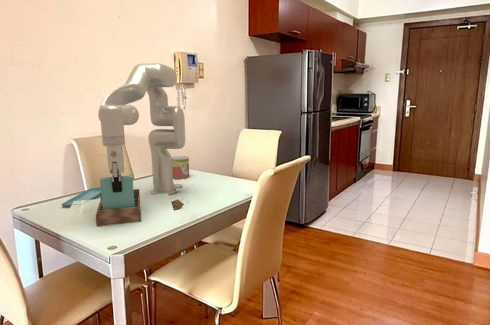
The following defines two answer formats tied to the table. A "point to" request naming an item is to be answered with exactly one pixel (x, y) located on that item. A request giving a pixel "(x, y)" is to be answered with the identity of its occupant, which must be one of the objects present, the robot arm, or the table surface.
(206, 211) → the table surface
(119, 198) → the tall sheet
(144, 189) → the table surface
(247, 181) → the table surface
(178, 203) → the wooden fragment
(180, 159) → the canned food
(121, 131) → the robot arm
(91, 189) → the shallow long dish
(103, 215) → the rack
